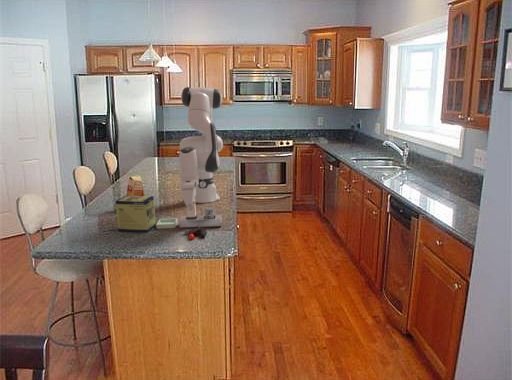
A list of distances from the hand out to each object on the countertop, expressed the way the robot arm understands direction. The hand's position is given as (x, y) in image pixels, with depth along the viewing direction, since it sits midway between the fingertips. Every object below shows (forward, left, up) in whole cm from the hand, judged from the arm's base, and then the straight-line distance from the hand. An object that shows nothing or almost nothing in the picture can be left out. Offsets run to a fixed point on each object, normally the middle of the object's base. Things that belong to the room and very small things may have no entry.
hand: (191, 208), depth 216 cm
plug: (0, 0, -4) cm, 4 cm away
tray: (-2, -13, -9) cm, 15 cm away
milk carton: (-38, -36, -9) cm, 53 cm away
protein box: (+2, -27, -9) cm, 28 cm away
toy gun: (+17, +2, -9) cm, 19 cm away
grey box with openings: (+3, +4, -9) cm, 10 cm away
